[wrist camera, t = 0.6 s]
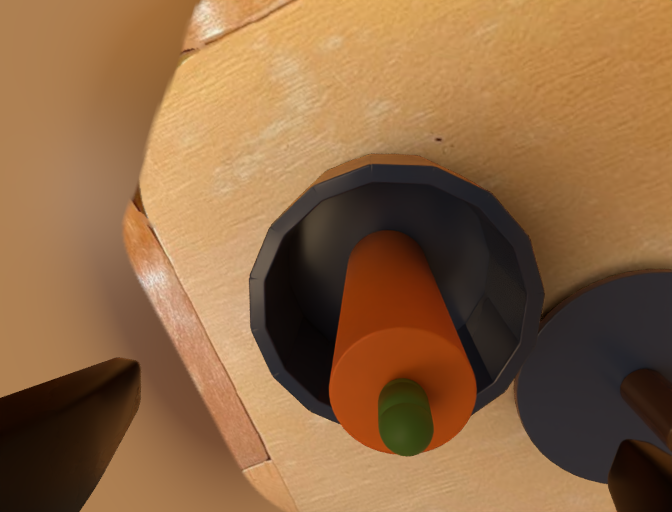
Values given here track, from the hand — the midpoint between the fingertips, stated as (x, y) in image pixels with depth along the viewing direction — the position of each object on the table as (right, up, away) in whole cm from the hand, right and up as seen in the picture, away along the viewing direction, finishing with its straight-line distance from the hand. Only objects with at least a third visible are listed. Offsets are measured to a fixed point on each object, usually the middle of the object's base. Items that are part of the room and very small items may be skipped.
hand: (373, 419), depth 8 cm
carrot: (+2, +2, +12) cm, 13 cm away
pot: (+2, +3, +13) cm, 13 cm away
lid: (+13, -3, +13) cm, 19 cm away
